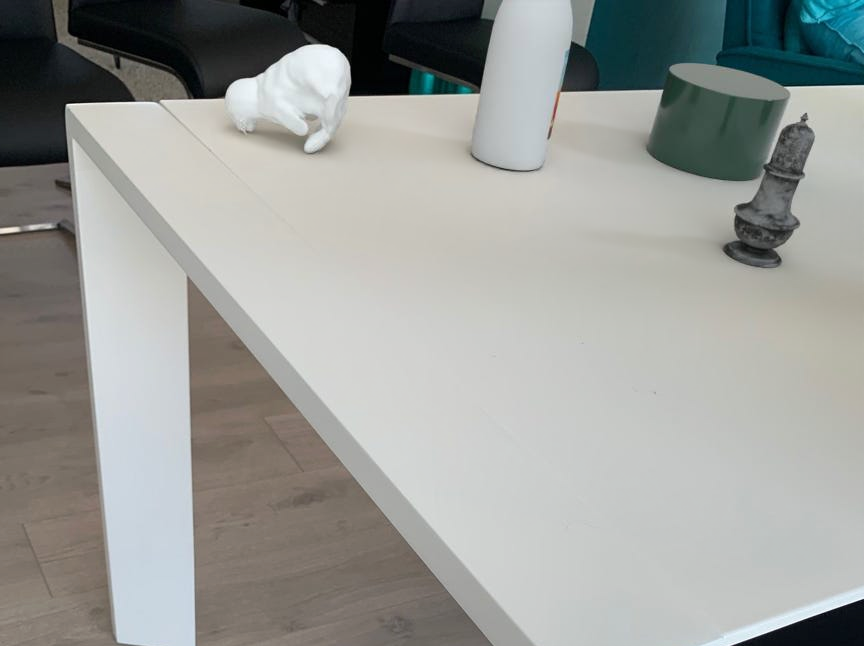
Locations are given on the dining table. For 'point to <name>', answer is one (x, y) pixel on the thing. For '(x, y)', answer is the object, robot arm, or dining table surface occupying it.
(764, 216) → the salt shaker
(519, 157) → the milk bottle
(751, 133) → the pedestal
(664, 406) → the dining table surface
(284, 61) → the white figurine
